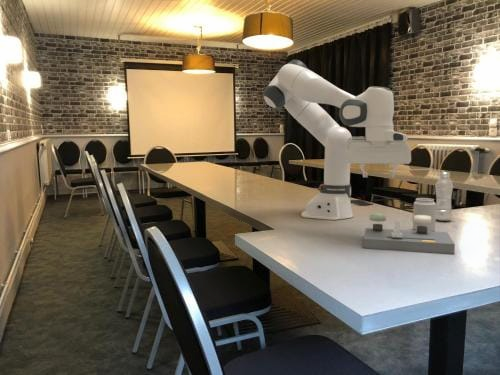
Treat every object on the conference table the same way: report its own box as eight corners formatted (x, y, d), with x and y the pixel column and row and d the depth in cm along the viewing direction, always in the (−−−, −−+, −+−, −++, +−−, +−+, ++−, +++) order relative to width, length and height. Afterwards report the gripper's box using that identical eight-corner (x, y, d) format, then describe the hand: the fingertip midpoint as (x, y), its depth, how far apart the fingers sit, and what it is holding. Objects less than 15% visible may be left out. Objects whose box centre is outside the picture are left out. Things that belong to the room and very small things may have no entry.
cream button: (414, 222, 135) (414, 217, 134) (413, 219, 139) (413, 214, 139) (431, 223, 133) (431, 218, 133) (430, 220, 138) (430, 215, 138)
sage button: (369, 220, 139) (369, 215, 139) (370, 218, 144) (370, 212, 144) (385, 221, 137) (385, 216, 137) (385, 218, 142) (386, 213, 142)
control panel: (363, 248, 130) (363, 232, 130) (365, 236, 145) (365, 222, 145) (454, 254, 122) (455, 237, 122) (446, 240, 137) (447, 226, 137)
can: (433, 229, 155) (435, 197, 153) (435, 233, 148) (437, 200, 146) (412, 228, 157) (413, 196, 156) (413, 232, 150) (414, 199, 149)
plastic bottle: (454, 222, 166) (456, 172, 163) (436, 222, 167) (437, 172, 165) (449, 219, 172) (451, 171, 170) (432, 219, 173) (434, 171, 171)
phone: (361, 199, 224) (373, 204, 209) (361, 201, 224) (373, 206, 209) (347, 200, 223) (359, 204, 208) (347, 202, 223) (359, 206, 208)
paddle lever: (391, 237, 129) (392, 221, 128) (391, 234, 133) (391, 218, 133) (402, 238, 128) (403, 221, 127) (402, 234, 132) (402, 218, 132)
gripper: (346, 136, 137) (345, 177, 139) (412, 135, 131) (410, 178, 133) (348, 136, 143) (347, 176, 145) (411, 135, 137) (409, 177, 139)
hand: (378, 177), depth 139 cm, fingers open, 7 cm apart
